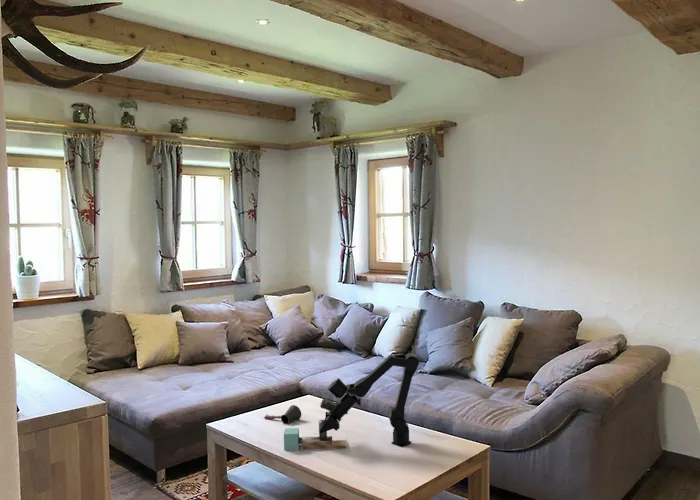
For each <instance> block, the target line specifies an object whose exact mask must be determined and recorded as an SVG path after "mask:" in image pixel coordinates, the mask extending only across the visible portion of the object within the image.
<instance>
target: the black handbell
mask: <svg viewBox="0 0 700 500" xmlns="http://www.w3.org/2000/svg"><path fill="white" fill-rule="evenodd" d="M263 418H264V419H265V420H273V419H280V421H281V422H282V424H285V425H289V423H291V422H295V421H297V420H298V421H299V420H300V419H301V418H302V410H301V409H300V407H298V406H297V405H294V404H293V405H291V406H289V407H288V409H287V410H286V411H285V413H284V414H282V415H277V416H276V415H269V413H267V414H266V415H264V417H263Z"/></svg>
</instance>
